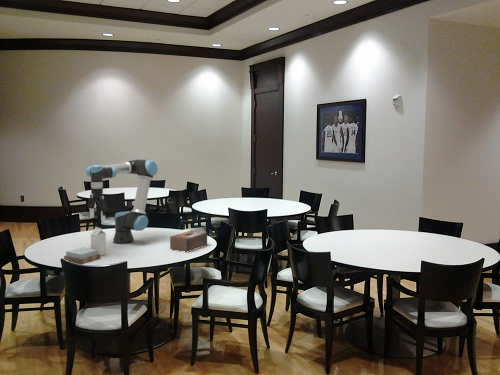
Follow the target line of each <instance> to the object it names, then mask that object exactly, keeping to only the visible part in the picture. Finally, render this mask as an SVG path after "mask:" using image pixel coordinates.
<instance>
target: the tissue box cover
mask: <svg viewBox="0 0 500 375" xmlns="http://www.w3.org/2000/svg"><path fill="white" fill-rule="evenodd" d="M169 241H170V242H169V246H170V247H169V249H172V250H171V251H175V250H179V251H178V252H181V251H185V252H184V253H188V252H187V251H189V252H191V251H190V250H192V251H194V250H193V249H195V248H198V247H200V248H202V247H201V246H203V247H205V246H204V245H206V246H208V232H207V231H201V230H199V231H198V230H188V231H185V232H181V233H178V234H174V235H171V236H170V237H169ZM198 249H199V248H198ZM195 250H196V249H195Z"/></svg>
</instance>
